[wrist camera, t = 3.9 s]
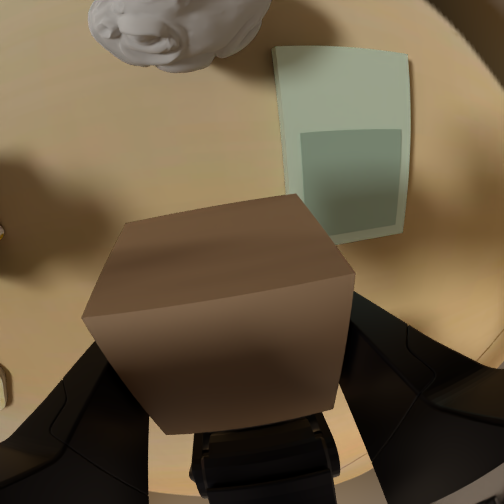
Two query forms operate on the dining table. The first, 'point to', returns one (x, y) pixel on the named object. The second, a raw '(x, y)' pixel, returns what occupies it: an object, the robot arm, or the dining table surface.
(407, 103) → the base board
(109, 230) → the dining table surface
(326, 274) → the walnut block
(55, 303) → the dining table surface
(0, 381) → the knob puzzle
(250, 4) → the grey lumpy rounded piece
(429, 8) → the dining table surface
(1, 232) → the medicine bottle
